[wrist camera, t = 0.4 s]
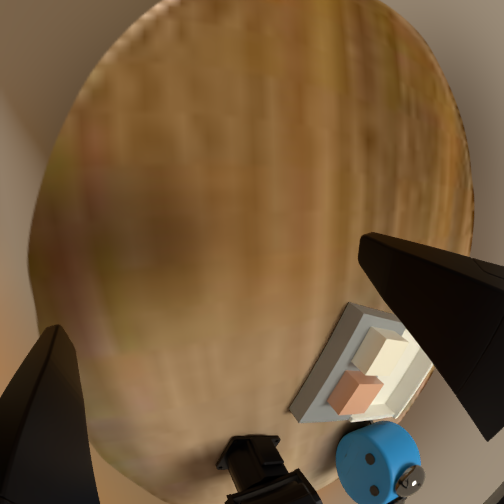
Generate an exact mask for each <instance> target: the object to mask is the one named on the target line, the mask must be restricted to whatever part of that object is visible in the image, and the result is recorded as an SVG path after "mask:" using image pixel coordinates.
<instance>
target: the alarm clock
mask: <svg viewBox="0 0 504 504" xmlns="http://www.w3.org/2000/svg"><path fill="white" fill-rule="evenodd" d="M369 423H370V425H368V426H366V427H363V428H361V429H358V430H356V431H353V432H350V433H348V434H346V435H345V436H344V437H343V438H342V439H341V441H340V442H339V444H338V447H337V451H336V468H337V473H338V476H339V479H340V482H341V484H342V486H343V488H344V489H345V491H346V492H347V494H348V495H349V496H350V497H351V498H352V499H353V500H354V501H355V502H356V503H358V504H405V500H406V498H407V497H408V496H411V495H413V494H415V493H416V492H417V491H418V490H419V489H420V488H421V487H422V485H423V483H424V481H425V471H424V469H423V468H422V467H421V461H420V455H419V451H418V448H417V446H416V444H415V442H414V440H413V438H412V437H411V436H410V434H409V433H408V432H407V431H406V430H405V429H404V428H402V427H401V426H399V425H398V424H396V423H393V422H390V421H379V422H376V423H373V421H372V420H369Z"/></svg>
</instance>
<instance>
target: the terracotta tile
mask: <svg viewBox="0 0 504 504" xmlns="http://www.w3.org/2000/svg"><path fill="white" fill-rule="evenodd" d="M383 385H384V384H383V383H382V382H381V381H380V380H379V379H378V378H377V377H376V376H369V375H364V374H363V373H362V372H361V371H351V370H346V371H345V372H344V374H343V376H342V377H341V379H340V381H339V382H338V384H337V385H336V387H335V388H334V390H333V392H332V393H331V395H330V396H329V398H328V399H327V402H328V403H329V404H330V406H331V407H332V408H333V409H334V410H335V412H336V413H337V414H338V415H350V414H362V413H365V411H366V410H367V409H368V407H369V406H370V404H371V403H372V401H373V400H374V399H375V397H376V396H377V394H378V393H379V391H380V390H381V388H382V387H383Z"/></svg>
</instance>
